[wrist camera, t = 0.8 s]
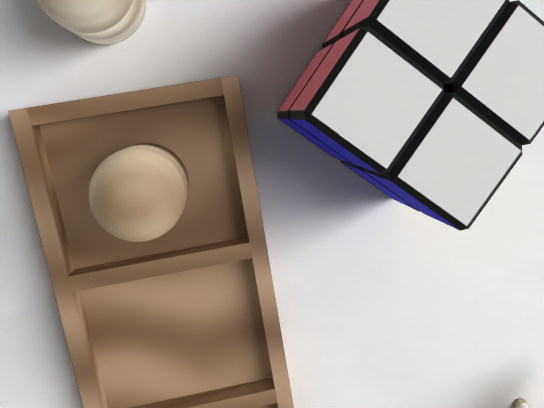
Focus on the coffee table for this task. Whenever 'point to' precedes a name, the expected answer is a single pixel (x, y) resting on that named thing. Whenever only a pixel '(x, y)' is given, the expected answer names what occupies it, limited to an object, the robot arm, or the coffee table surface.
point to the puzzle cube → (426, 98)
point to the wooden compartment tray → (159, 253)
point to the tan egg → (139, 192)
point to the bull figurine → (520, 404)
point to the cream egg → (97, 18)
